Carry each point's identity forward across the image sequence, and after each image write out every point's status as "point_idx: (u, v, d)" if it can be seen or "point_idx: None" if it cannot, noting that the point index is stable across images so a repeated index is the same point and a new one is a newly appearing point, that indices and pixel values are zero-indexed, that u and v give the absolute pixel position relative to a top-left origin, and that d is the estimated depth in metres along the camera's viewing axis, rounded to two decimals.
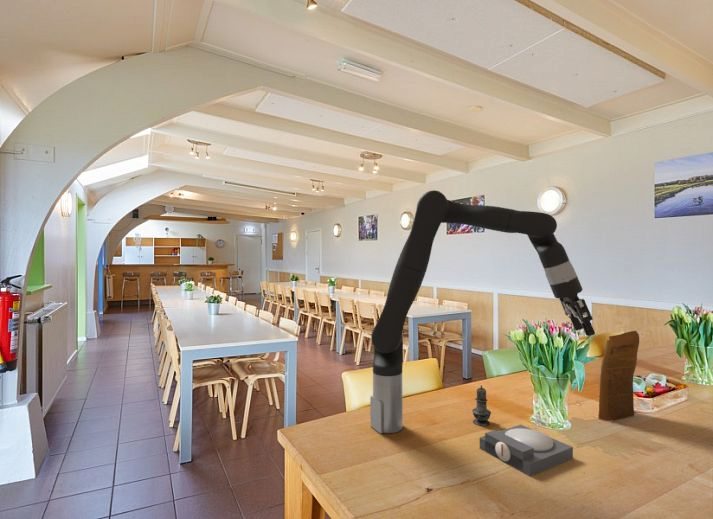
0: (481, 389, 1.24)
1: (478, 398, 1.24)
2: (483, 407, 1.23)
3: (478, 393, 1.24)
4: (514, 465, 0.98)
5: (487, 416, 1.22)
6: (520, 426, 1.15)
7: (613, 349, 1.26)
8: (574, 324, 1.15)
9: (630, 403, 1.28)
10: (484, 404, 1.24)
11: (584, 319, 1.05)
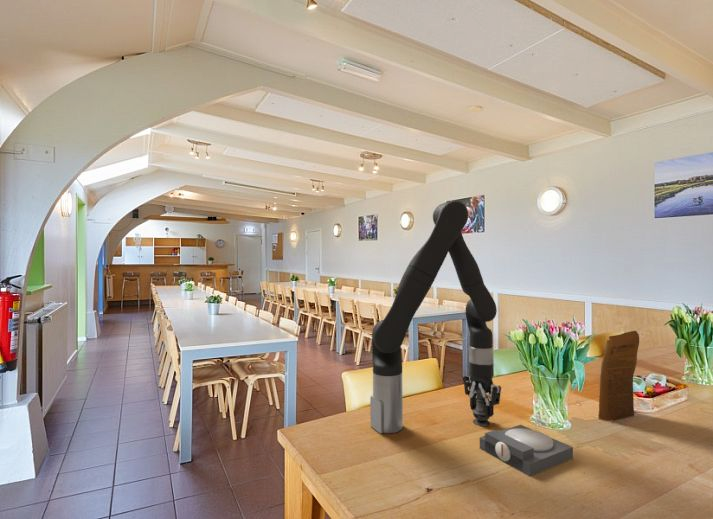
0: None
1: (478, 398, 1.24)
2: (483, 406, 1.23)
3: (478, 393, 1.24)
4: (514, 465, 0.98)
5: None
6: (520, 426, 1.15)
7: (613, 349, 1.26)
8: (472, 404, 1.27)
9: (630, 403, 1.28)
10: (484, 404, 1.24)
11: (494, 403, 1.19)
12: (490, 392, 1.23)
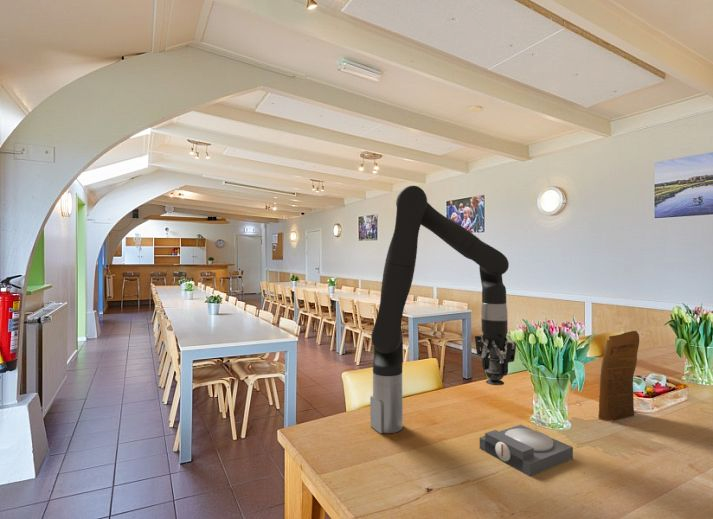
0: None
1: (491, 357, 1.18)
2: (496, 365, 1.18)
3: (491, 351, 1.18)
4: (514, 465, 0.98)
5: None
6: (520, 426, 1.15)
7: (613, 348, 1.25)
8: (485, 364, 1.21)
9: (630, 403, 1.28)
10: (498, 363, 1.18)
11: (509, 360, 1.13)
12: (504, 350, 1.17)
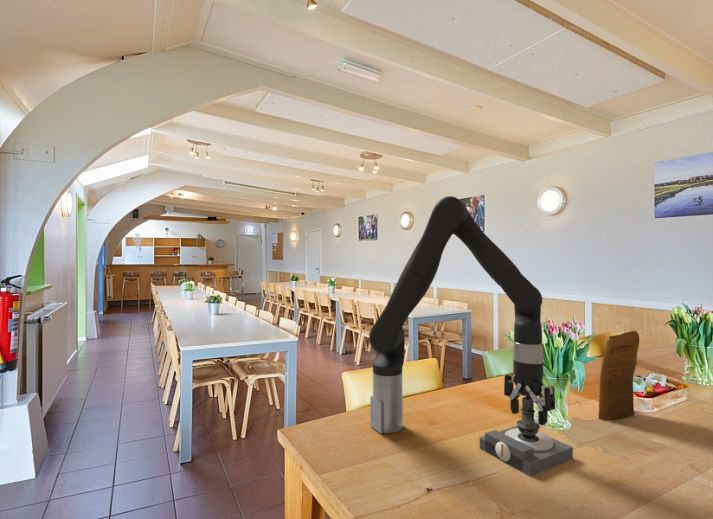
0: (528, 398, 1.05)
1: (524, 409, 1.05)
2: (530, 419, 1.04)
3: (524, 403, 1.05)
4: (514, 465, 0.98)
5: (536, 430, 1.03)
6: None
7: (613, 349, 1.25)
8: (514, 407, 1.09)
9: (630, 403, 1.28)
10: (532, 416, 1.04)
11: (550, 408, 0.99)
12: (541, 395, 1.04)
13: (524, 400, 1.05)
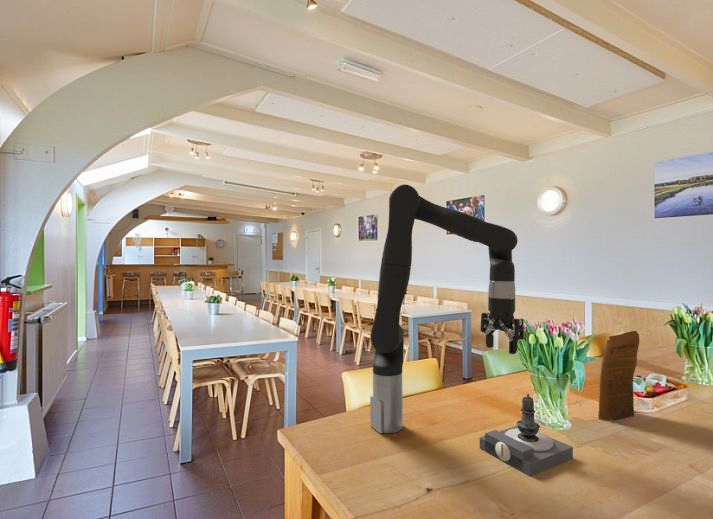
0: (528, 398, 1.05)
1: (524, 409, 1.05)
2: (530, 419, 1.04)
3: (524, 403, 1.05)
4: (514, 465, 0.98)
5: (536, 430, 1.03)
6: None
7: (613, 349, 1.25)
8: (488, 341, 1.19)
9: (630, 403, 1.28)
10: (532, 416, 1.04)
11: (519, 337, 1.09)
12: (512, 328, 1.14)
13: (524, 400, 1.05)
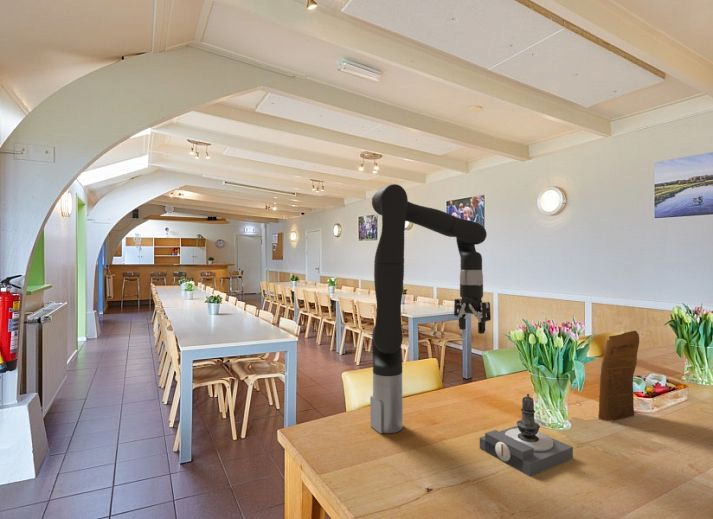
0: (528, 398, 1.05)
1: (524, 409, 1.05)
2: (530, 419, 1.04)
3: (524, 403, 1.05)
4: (514, 465, 0.98)
5: (536, 430, 1.03)
6: None
7: (613, 349, 1.26)
8: (461, 324, 1.34)
9: (630, 403, 1.28)
10: (532, 416, 1.04)
11: (486, 318, 1.25)
12: (481, 311, 1.29)
13: (524, 400, 1.05)
